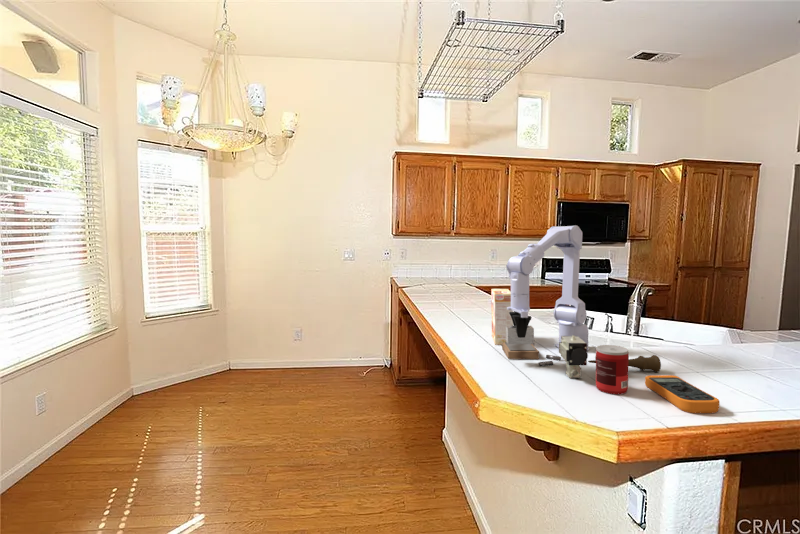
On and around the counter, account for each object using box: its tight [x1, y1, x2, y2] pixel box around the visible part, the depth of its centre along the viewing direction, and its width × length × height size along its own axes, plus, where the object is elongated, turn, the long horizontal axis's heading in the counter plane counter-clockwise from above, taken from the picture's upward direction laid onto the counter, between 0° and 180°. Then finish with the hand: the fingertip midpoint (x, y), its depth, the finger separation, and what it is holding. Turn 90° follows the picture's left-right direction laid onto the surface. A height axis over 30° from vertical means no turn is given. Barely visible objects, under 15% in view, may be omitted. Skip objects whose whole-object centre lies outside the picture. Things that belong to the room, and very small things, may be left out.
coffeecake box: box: [490, 288, 514, 346], centre depth 162 cm, size 15×7×20 cm, turn 172°
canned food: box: [595, 344, 630, 395], centre depth 109 cm, size 8×8×11 cm
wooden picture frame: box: [501, 342, 540, 360], centre depth 144 cm, size 10×12×3 cm
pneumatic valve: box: [558, 335, 589, 379], centre depth 120 cm, size 6×12×12 cm, turn 173°
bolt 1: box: [538, 360, 554, 367], centre depth 131 cm, size 4×1×1 cm, turn 106°
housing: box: [506, 325, 535, 345], centre depth 134 cm, size 8×4×5 cm, turn 85°
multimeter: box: [644, 374, 720, 414], centre depth 103 cm, size 9×18×3 cm, turn 177°
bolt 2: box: [545, 354, 562, 362], centre depth 137 cm, size 4×1×1 cm
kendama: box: [587, 354, 662, 373], centre depth 124 cm, size 6×10×20 cm
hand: (520, 335), depth 134 cm, fingers closed on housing, 4 cm apart
